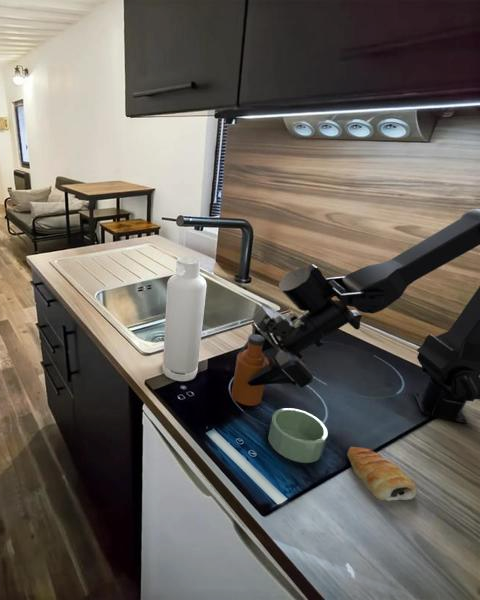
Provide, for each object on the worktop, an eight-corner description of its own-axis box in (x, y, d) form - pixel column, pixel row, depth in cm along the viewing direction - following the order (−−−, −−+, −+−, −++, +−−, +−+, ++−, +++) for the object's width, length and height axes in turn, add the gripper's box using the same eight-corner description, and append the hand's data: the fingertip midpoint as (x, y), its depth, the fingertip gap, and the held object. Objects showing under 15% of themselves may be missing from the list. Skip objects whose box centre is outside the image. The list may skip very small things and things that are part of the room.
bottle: (156, 365, 89) (161, 257, 78) (183, 358, 92) (193, 251, 80) (175, 384, 83) (183, 269, 71) (204, 375, 85) (217, 262, 73)
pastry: (333, 455, 63) (339, 439, 61) (370, 452, 63) (376, 435, 62) (378, 506, 55) (386, 488, 53) (420, 501, 55) (429, 483, 53)
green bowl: (268, 423, 71) (273, 403, 69) (319, 437, 67) (326, 416, 65) (266, 454, 64) (270, 433, 62) (322, 472, 60) (329, 450, 58)
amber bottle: (239, 386, 81) (249, 327, 75) (265, 398, 77) (278, 337, 71) (225, 397, 78) (234, 337, 71) (252, 411, 74) (264, 349, 67)
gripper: (270, 278, 75) (209, 323, 81) (307, 320, 58) (227, 373, 65) (303, 312, 77) (241, 354, 83) (348, 363, 60) (266, 410, 67)
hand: (243, 370), depth 75 cm, fingers open, 9 cm apart
